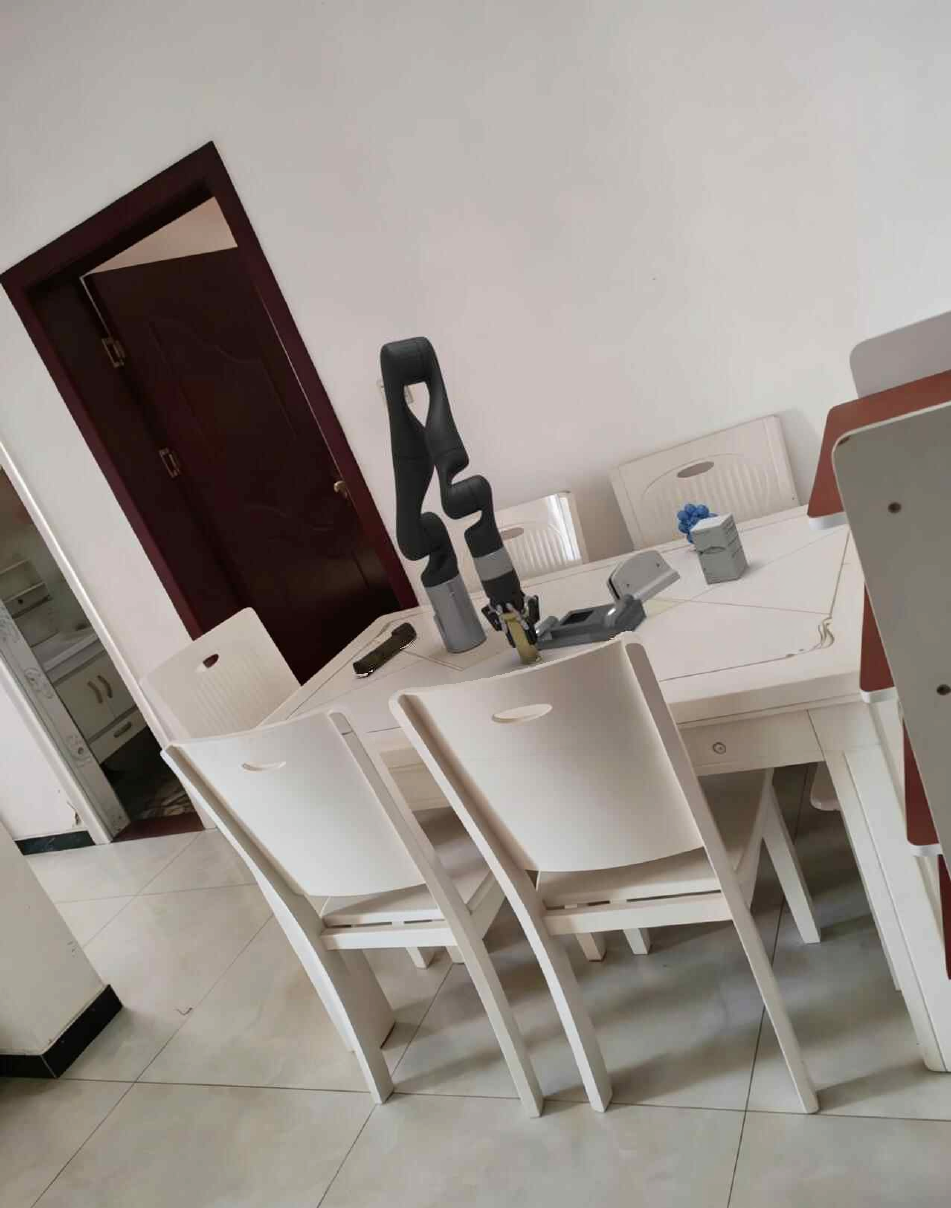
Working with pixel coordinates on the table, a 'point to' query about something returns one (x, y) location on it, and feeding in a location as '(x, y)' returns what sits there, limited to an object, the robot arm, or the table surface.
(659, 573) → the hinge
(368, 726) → the table surface
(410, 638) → the hand tool
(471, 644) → the robot arm
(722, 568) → the supplement box
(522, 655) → the brass pin
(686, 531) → the grapes
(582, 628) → the gray socket base
